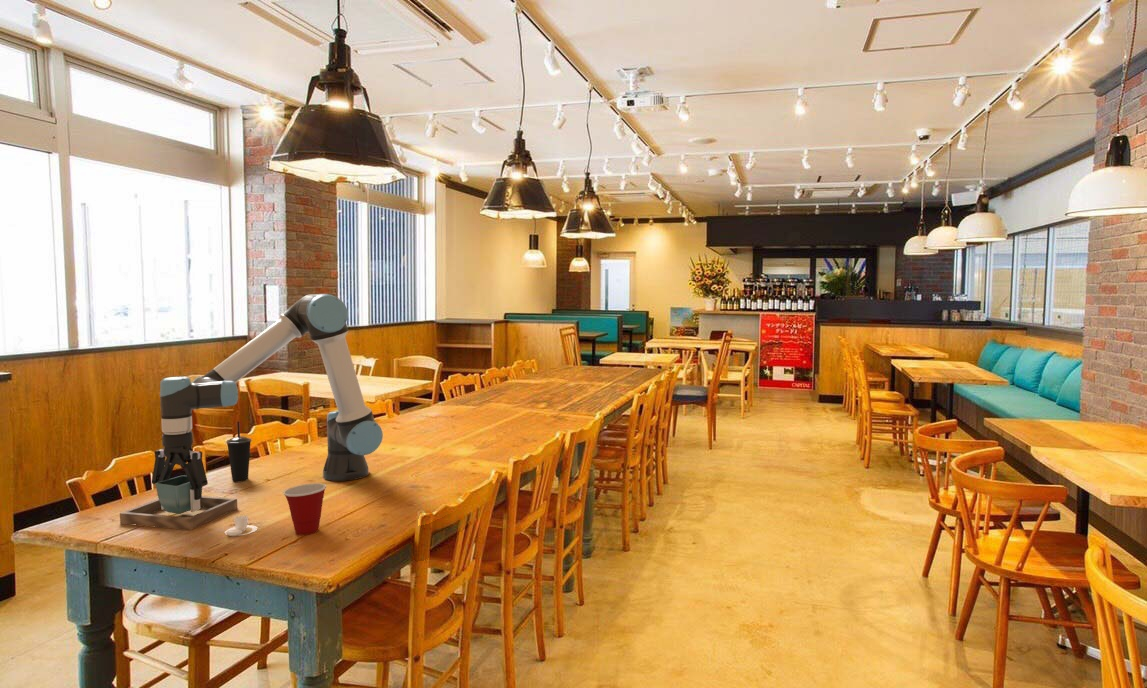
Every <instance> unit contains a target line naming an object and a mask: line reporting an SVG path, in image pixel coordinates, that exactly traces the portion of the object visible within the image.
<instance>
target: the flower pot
mask: <svg viewBox="0 0 1147 688" xmlns="http://www.w3.org/2000/svg"><path fill="white" fill-rule="evenodd" d="M196 484H197V483H196ZM154 485H155V488H156V494H157V499H159V501H160V503H161V505H162V506H163V508H164V510H165V511H166V512H167V513H171V514H175V515H181V514H183V513H187V512H191V503H190V489H191V488H192V486H191V484H190V482H189V479H188V477H187V475H179V476H175V477H172V478H169V479H168V480H164V481H161V482H157V483H155V484H154ZM201 494H203V487H202V488H201Z"/></svg>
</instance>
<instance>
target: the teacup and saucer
mask: <svg viewBox="0 0 1147 688" xmlns="http://www.w3.org/2000/svg"><path fill="white" fill-rule="evenodd" d="M233 518H234V519H233V522H234V526H233V527H230V528H228V529H227V530H225V531H224V534H225V535H226V536H230V537H240V536H247V535H249V534H253V533H255V532H257V530H258V529H259V527H257V526H256V525H251V524H250V525H249V524H248V522H249V516H247V515H238V516H235V517H233ZM247 528H250V529H251V531H248V532H246V533H244V532H245V531H246V529H247Z"/></svg>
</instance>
